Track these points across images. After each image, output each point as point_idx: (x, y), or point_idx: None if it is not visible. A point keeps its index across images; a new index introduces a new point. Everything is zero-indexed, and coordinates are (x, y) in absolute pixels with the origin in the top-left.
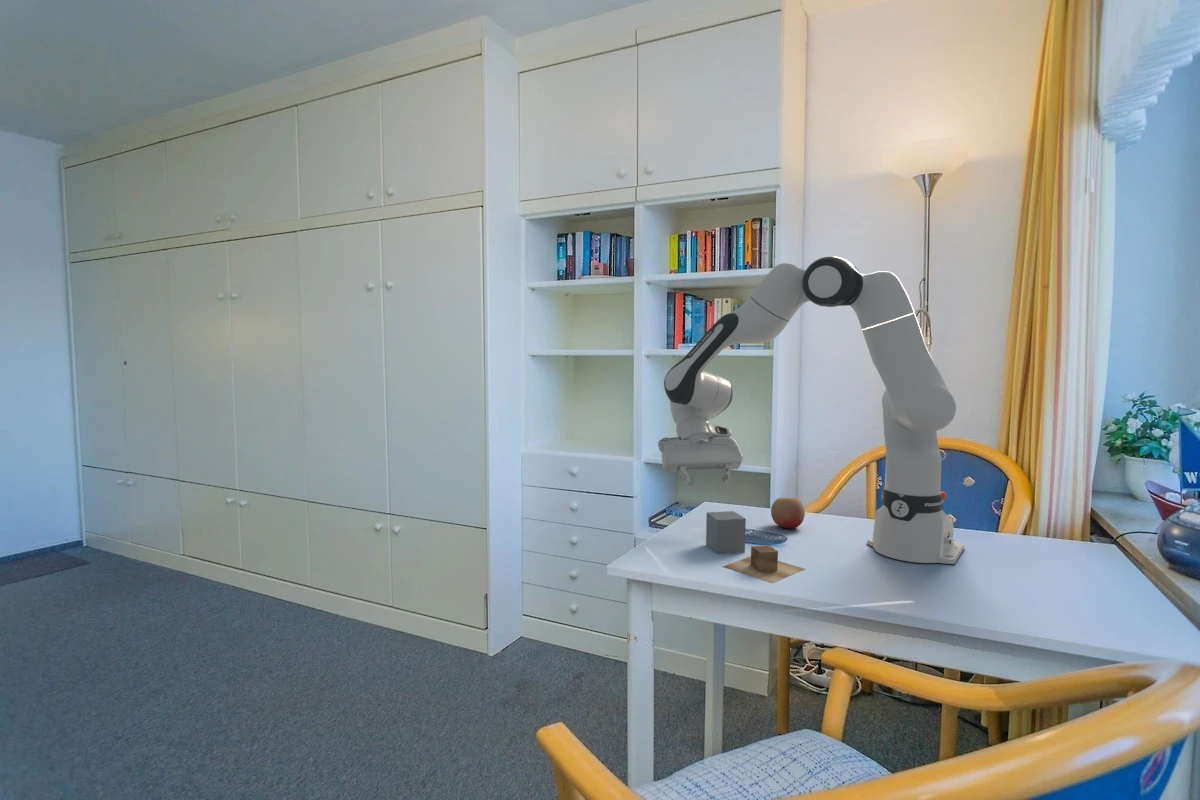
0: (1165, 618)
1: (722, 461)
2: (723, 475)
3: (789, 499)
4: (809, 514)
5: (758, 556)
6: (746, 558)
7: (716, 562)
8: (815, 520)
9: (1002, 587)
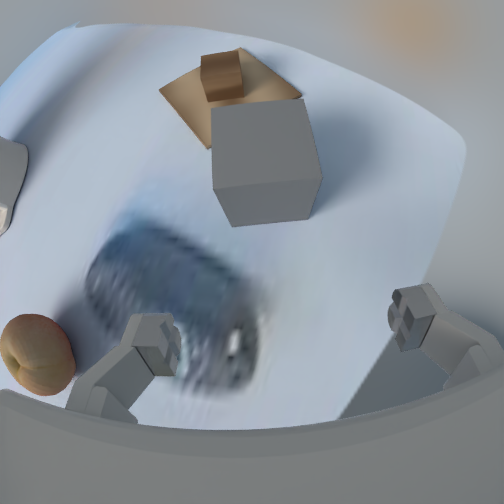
0: (11, 76)
1: (109, 424)
2: (162, 347)
3: (11, 338)
4: None
5: (239, 59)
6: None
7: None
8: None
9: (24, 97)
